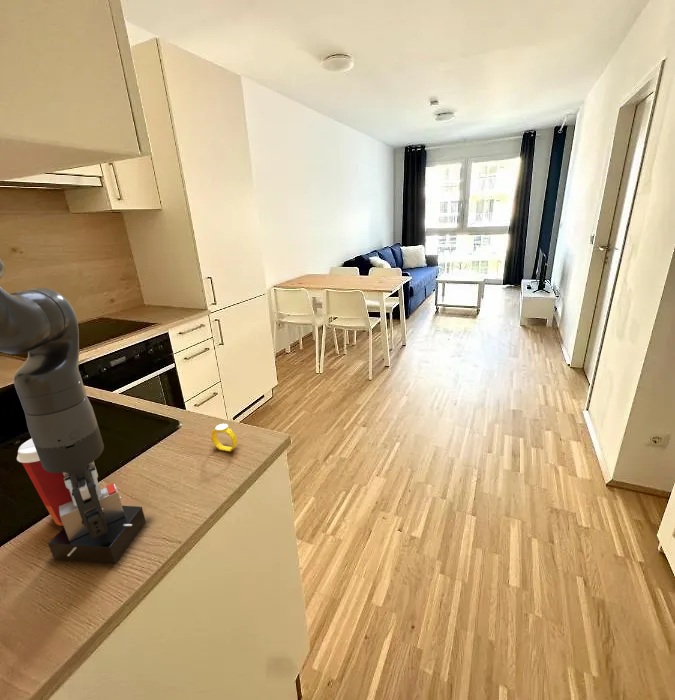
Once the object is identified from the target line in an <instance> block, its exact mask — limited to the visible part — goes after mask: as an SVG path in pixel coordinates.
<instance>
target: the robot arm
mask: <svg viewBox="0 0 675 700" xmlns="http://www.w3.org/2000/svg"><path fill="white" fill-rule="evenodd" d="M5 272H6V266H5V263H4V261H3V260H2V259H1V258H0V280H1V279H2V278H3V276H4V275H5ZM79 334H80V333H79V323H78V317H77V314H76V311H75V310H74V308H73V306H72V304H71V303H70V302H69V300H68V299H67V298H66V297H65V296H64V295H63V294H61V293H60V292H59V291H57V290H55V289H51V288H49V287H32V288H26V289H24V290H21V291H15V292H12V293H9V292H7V291H6V290H5V289H4V288H3V287H1V285H0V352H1V353H3V354H8V355H22V354H26V353H27V358H26V360H25V361H24V363H23V364H22V365H21V366H20V367H18V369H17V370H16V371H15V373H14V375H13V384H14V388H15V391H16V394H17V396H18V399H19V401H20V403H21V407H22V409H23V412H24V415H25V416H24V417H25V420H26V421H25V422H26V427H27V429H28V432H29V435H30V437H31V438H32V440H33V443H34V446H35V448H36V451H37V454H38V456H39V459H40V462H41V464H42V467H43V468H44V470H46V471H48V472H51V473H63V475H64V477H65V478H64V482H65V485H66V488H68V489H69V491H70V494H71V497H72V501H73V504H74V506H76V507H78V510H79V513H80V515H81V519H82V521H81V522H82V525H83V524H84V526H87V528H88V531H89V534H90V537H91V539H95V538H97V537H99V536H101V535H104V534H106V533H107V532H108V528H107V525H106V522H105V519H104V515H105V513H104V509H103V507H101V504H100V501H99V498H100V497H101V496H102V493H101V490H100V489H101V487H100V484H99V481H98V478H99V473H98V470H97V468H96V465H95V460H98V458H99V457H100V456H101V455H102V453H103V452H104V450H105V449H104V448H105V443H104V441H103V437H102V434H101V430H100V427H99V424H98V421H97V418H96V414H95V411H94V408H93V405H92V404H91V401H90V399H89V398H88V394H87V392H86V391H87V390H86V388H85V384H84V382H83V378H82V374H81V373H80V369H79V360H80V335H79ZM31 438H30V439H31ZM94 507H96V508H94ZM91 508H94V509H92V510H89V509H91ZM87 510H89V511H87ZM85 511H87V512H85Z"/></svg>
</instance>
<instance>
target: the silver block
mask: <svg viewBox="0 0 675 700" xmlns="http://www.w3.org/2000/svg"><path fill="white" fill-rule="evenodd" d="M100 490H101V493H102V496H101V497H100V498H99V501H100V504H101V507H103V509H104V513H105V515H104V519H105V522H106V525H107V524H109V523H111V522H114V521H116V520H118V519H120V518H122V517H124V516H125V514H124V511H123V507H122V506H123V504H122V502H121V499H120V493H119V491H118V488H117V485H116V483H111V484H107V485H106V486H105V487H103V488H100ZM94 508H96V507H94ZM94 508H91V509H89V510H92V509H94ZM89 510H87V511H89ZM87 511H85V512H87ZM59 512H60V518H61V520H62V523H63V528H65V531H66V533H67V536H68V539H69V541H72V540H75V539H77V538H79V537H81V536H83V535H85V534H88V533H89V531H88V528H87V526H84V524H83V525H82V522H81V521H82V519H81V515H80V513H79V510H78V507H76V506H74V504H73V501H71V502H69V503H66V504H64V505H61V506H59Z"/></svg>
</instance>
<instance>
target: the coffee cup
mask: <svg viewBox="0 0 675 700" xmlns="http://www.w3.org/2000/svg"><path fill="white" fill-rule="evenodd" d="M16 461H17V462H18V463H21V464H22V466H23V468H24V470H25V471H26V473H27V475H28V477H29V479H30V480H31V483H32V484H33V486H34V488H35V490H36V491H37V494H38V495H39V497H40V499H41V501H42V503H43V505H44V506H45V508H46V510H47V511H48V513H49V515H50V517H51V518H52V520H53V522H54V523H55V525H57V526H61V527H62V526H63V523H62V520H61V518H60V512H59V506H61V505H64V504H66V503H69V502H71V501H72V497H71V494H70V491H69V489H68V488H66V485H65V482H64V478H65V477H64V475H63V473H51V472H48V471H46V470H44V468H43V467H42V464H41V462H40V459H39V456H38V454H37V451H36V448H35V446H34V443H33V440H32V438H29V439H28V440H25V442H23V443H21V445H20V446H19V447H18V450H17V456H16ZM63 527H64V526H63Z"/></svg>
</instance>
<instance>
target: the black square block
mask: <svg viewBox="0 0 675 700" xmlns="http://www.w3.org/2000/svg"><path fill="white" fill-rule="evenodd" d="M119 497H120V500H121V499H122V498H123V496H120V495H119ZM122 507H123V511H124V514H125V516H124V517H122V518H120V519H118V520H116V521H114V522H111V523H109V524H107V528H108V532H107V533H106V534H104V535H101V536H99V537H97V538H95V539H91V537H90V534H89V533H88V534H85V535H83V536H81V537H79V538H77V539H75V540H72V541H69V539H68V536H67V533H66V531H65V528H64V527H62V529H61V530H60V531H58V532H57V533H56V534H55V535H54V536H53V538H52V539H50V540H49V542H48V543H47V545H48V548H49V550H50V552H51V555H52V557H53V561H58V562H59V561H60V562H74V563H75V562H76V563H90V564H106V565H116V564H117V563H118V561H119V560H120V559H121V557H122V556H123V555H124V553H125V551H127V549H128V548H129V547H130V545H131V543H132V542H133V541H134V540H135V538H136V537H137V536H138V534H139V533H140V532H141V530H142V529H143V527H144V526H145V524H146V523H147V521H146V518H145V514H144V510H143V506H137V505H122Z"/></svg>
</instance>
